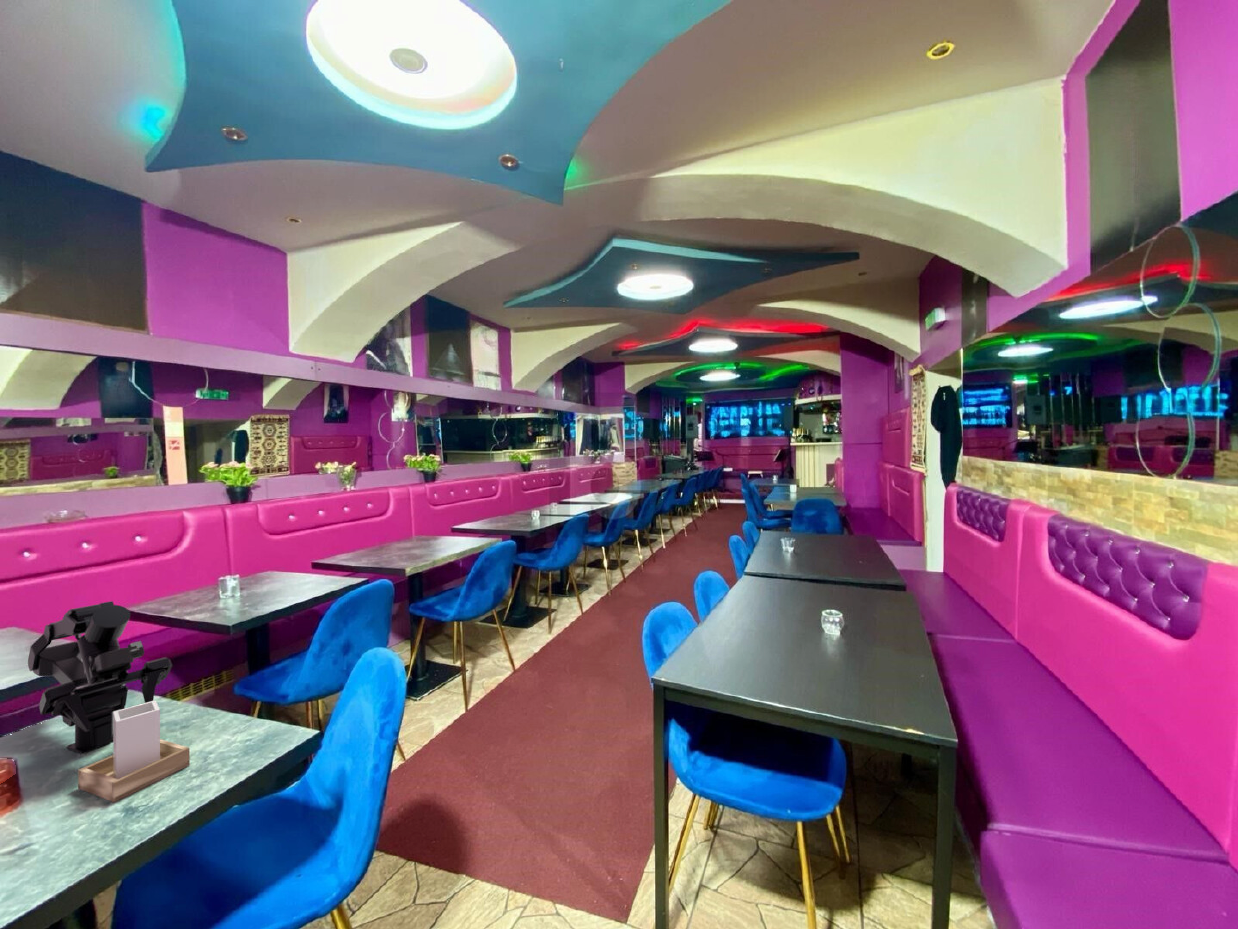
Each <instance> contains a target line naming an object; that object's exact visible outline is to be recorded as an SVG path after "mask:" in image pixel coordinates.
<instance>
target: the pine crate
mask: <svg viewBox="0 0 1238 929" xmlns="http://www.w3.org/2000/svg"><path fill="white" fill-rule="evenodd" d="M190 762H191V761H190V747H188V746H185V745H181V744H178V743H174V742H171V741H168V740H165V739H162V738H160V760H158V761H156V762H154V763H152V764H150V765H148V766H145V767H143V768H141V769H139V770H137V771H135V772H133V773H130V774H128V775H126V776H124V777H122V778H120V779H115V778H114V773H113V754H112V755H110V756H108V757H104V758H102V759H100V760H97V761H95V762H93V763H91V764H89V765H87V766H84V767H82V768H78V769H77V770H78V771H77V774H78V775H77V778H78V779H77V780H78V782H77V783H78V786H77V788H78V789H79V790H81V791H84V792H86V793H89V794H91V795H94V796H97V797H99V798H102V799H105V800H107V801H109V802H112V803H117V802H119V801H121V800H123V799H124V798H126V797H128V796H130V795H133V794H136V792H138V791H140V790H142V789H144V788H147V787H148V786H150V785H152V784H154V783H156V782H159V781H160V780H162V779H164V778H167V777H169V776H170V775H172V774H175V773H178V772H179V771H180V770H183V769H185V768H187V767H189V766H190V764H191V763H190Z"/></svg>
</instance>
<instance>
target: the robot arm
mask: <svg viewBox="0 0 1238 929" xmlns="http://www.w3.org/2000/svg"><path fill="white" fill-rule="evenodd" d="M130 618H131V612H130V610H129V609H128V608H127V607H125V606H122V605H117V604H114V601H113V600H111V601H106V602H101V603H99V604H98V603H97V604H93V605H86V606H81V607H76V608H70V609H68V611H66V612H65V613H64V615H63V618H62V619H60V620H58V621H56V622H50V623H49V624H46V625H45V626H44V630H43V634H41V636H40V637H38V639H37V640H35V641H34V643H32V645H30V648H29V654H28V659H27V666H28V669H29V672H32V673H33V674H35V675H37V676H38V677H54V678H55V679H56V681H57V682H59V684H58V685H55V686H51V687H47V688H46V689H45V690H44V691H43V693H42V696H41V698H40V701H39V712H40V715H41V716H46V715H49V714H51V716H53V717H55V716H62V722H63V723H64V724H66V725H67V726H68V727H74V743H71V744H68V745H67V746H66V749H67V750H69V751H72V752H75V753H79V754H80V755H81V754H87V753H89V752H91V751H94V750H96V749H98V748H101V747H104V746H106V745H108V744H110V743H113V712H114V711H117V710H121V709H125V708H126V704H127V697H128V692H129V687H128V686H127V684H129V683H132V682H135V681H136V682H137V681H139V680H140V682H141V684H142V685H141V693H142V697H143V700H144V701H143V702H144V703H147V702H151V701H154V698H155V692H156V686H158V685H160V683H161V681H164V680H165V679H167V677H168V675H169V674H170V671H171V669H172V668H173V663H172V660H171V659H169V658H168V657H167V656H165V657H160V658H157V659H152V660H149V661H146V662H144V665H143V667H142V669H139V670H135V671H132V672H131V671H130V670H131V669H132V668H131V667H132V663H134V662H135V660H134V659H139V658H142V657H143V656H144V654H145V649H144V646H143V643H142V641H141V640H139V641H135V642H132V643H131V642H130V643H129V644H128V645H127V647H123V648H122V647H120V644H119V639H118V638H120V637H121V636H122V635H123V634H124V631H125V628H126V626H127V624H128V623H129V620H130ZM82 634H83V635H82ZM73 636H74V638H75V639H76V641H70V642H66V643H61V644H58V645H53V646H49V645H51V643H52V641H54V640H59V639H64V638H68V637H73ZM128 670H129V671H130V672H128Z"/></svg>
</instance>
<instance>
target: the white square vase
mask: <svg viewBox="0 0 1238 929" xmlns="http://www.w3.org/2000/svg"><path fill="white" fill-rule="evenodd" d="M160 739H161V711H160V707H159V705H158V703H157V701H156V699H155V700H154V699H153V701H151V702H147V703H145V702H144V703H141V704H137V705H132V706H129V707H125V708H124V709H121V710H117V711H114V712H113V742H112V743H113V744H112V746H113V748H112V750H113V752H112V755H113V773H114V778H115V779H120V778H122V777H124V776H126V775H128V774H130V773H133V772H135V771H137V770H139V769H141V768H143V767H145V766H148V765H150V764H152V763H154V762H156V761H158V760H160Z"/></svg>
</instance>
